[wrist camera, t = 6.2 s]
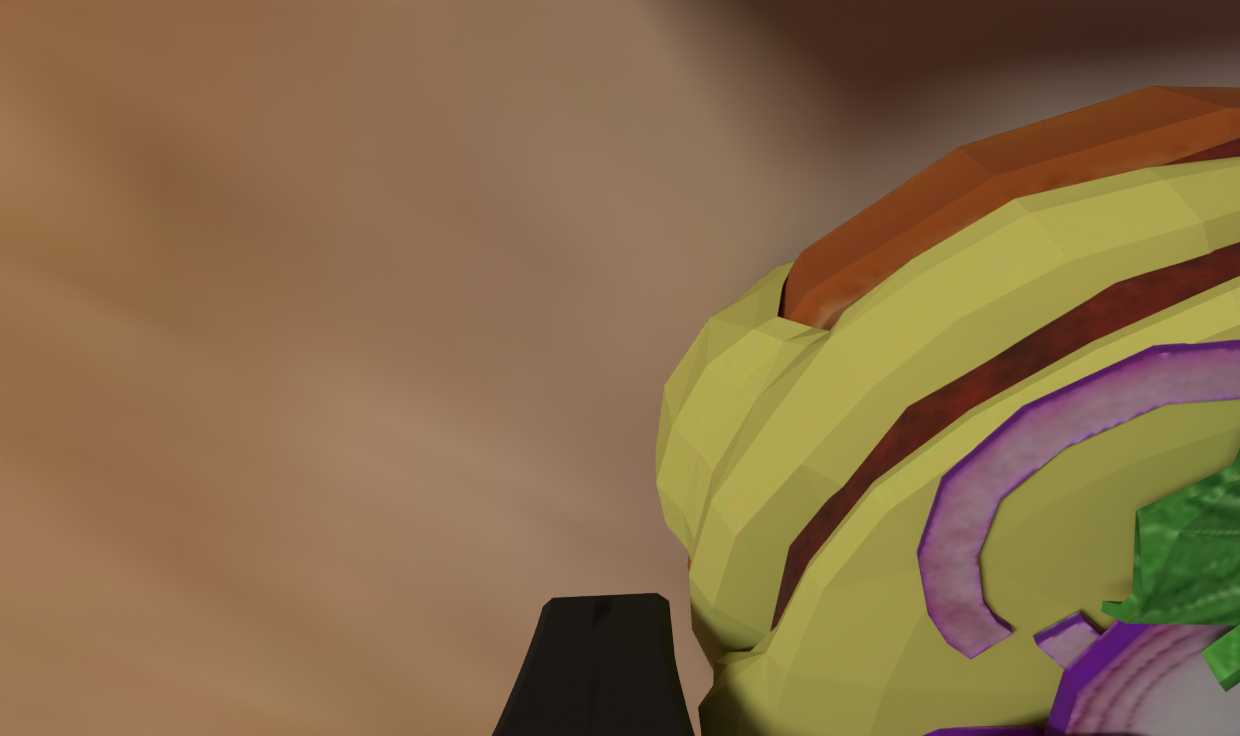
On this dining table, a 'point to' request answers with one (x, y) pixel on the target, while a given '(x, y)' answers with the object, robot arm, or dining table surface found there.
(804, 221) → the dining table surface
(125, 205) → the dining table surface
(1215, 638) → the cheeseburger
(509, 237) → the dining table surface
